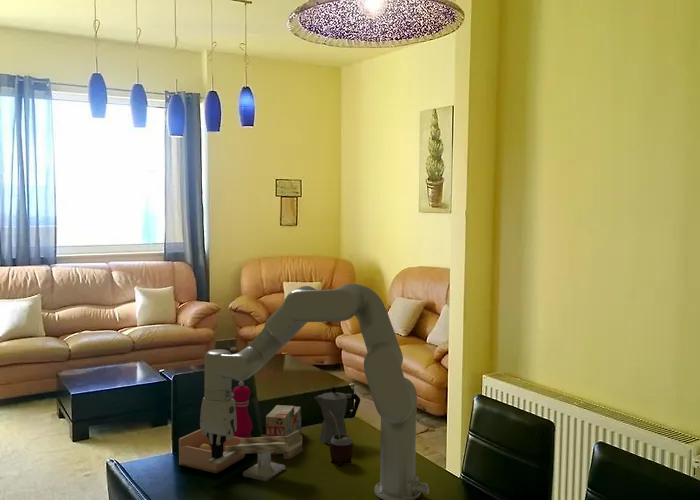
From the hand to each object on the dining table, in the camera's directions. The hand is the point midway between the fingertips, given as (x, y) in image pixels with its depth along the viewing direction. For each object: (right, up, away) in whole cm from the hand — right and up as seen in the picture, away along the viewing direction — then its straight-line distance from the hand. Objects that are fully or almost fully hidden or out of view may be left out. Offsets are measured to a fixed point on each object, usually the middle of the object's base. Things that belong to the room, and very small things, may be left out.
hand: (217, 456), depth 191 cm
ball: (-7, -3, +14) cm, 16 cm away
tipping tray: (+11, -1, 0) cm, 12 cm away
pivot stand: (+13, -6, +5) cm, 15 cm away
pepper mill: (+2, -5, +31) cm, 32 cm away
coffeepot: (+34, -5, +32) cm, 47 cm away
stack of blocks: (+16, -5, +29) cm, 34 cm away
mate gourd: (+35, -6, +13) cm, 37 cm away
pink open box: (-4, -5, +13) cm, 15 cm away
